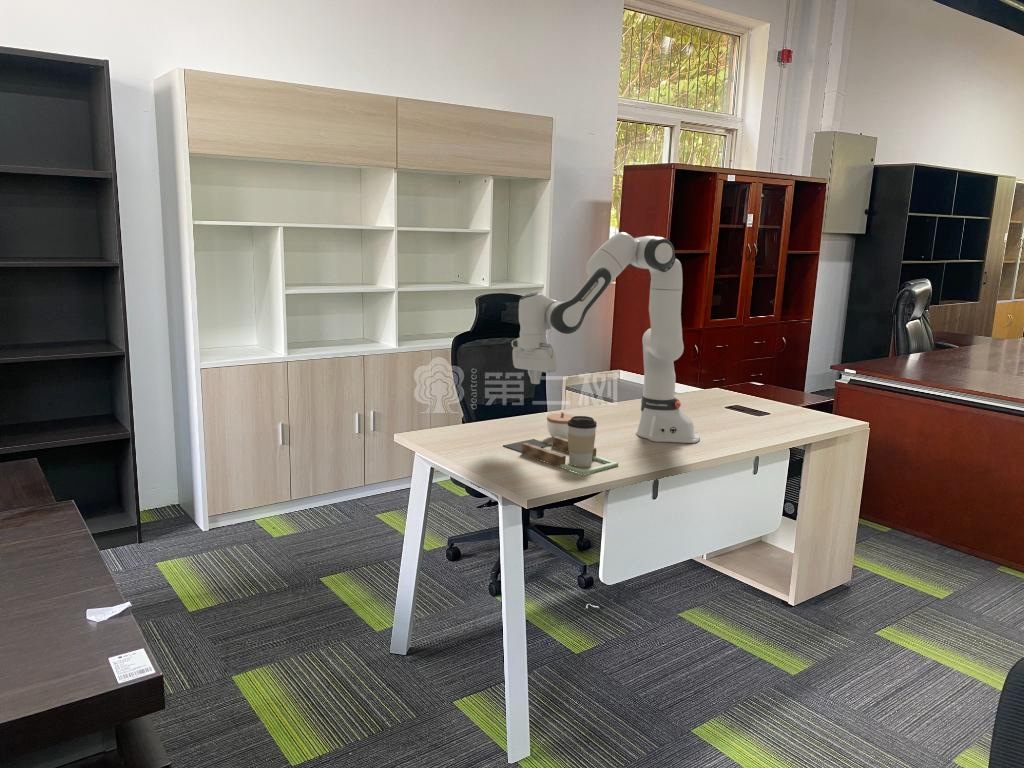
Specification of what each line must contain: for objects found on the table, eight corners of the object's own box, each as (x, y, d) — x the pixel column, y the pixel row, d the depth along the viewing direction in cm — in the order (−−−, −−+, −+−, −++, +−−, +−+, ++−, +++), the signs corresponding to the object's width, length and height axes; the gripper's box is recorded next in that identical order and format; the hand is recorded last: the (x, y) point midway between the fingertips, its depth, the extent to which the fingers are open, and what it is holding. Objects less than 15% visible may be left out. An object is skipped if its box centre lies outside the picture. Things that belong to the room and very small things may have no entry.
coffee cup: (564, 459, 239) (566, 413, 237) (592, 459, 240) (594, 414, 237) (567, 467, 231) (569, 420, 228) (596, 468, 231) (599, 420, 228)
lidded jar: (544, 434, 269) (545, 409, 267) (573, 434, 270) (574, 409, 268) (548, 442, 258) (549, 416, 256) (579, 442, 259) (580, 416, 257)
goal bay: (560, 467, 230) (560, 464, 230) (595, 458, 241) (595, 455, 241) (582, 475, 223) (583, 472, 223) (618, 465, 234) (618, 462, 234)
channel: (521, 454, 244) (521, 443, 243) (556, 446, 254) (557, 436, 253) (560, 467, 230) (561, 456, 230) (595, 458, 241) (596, 448, 240)
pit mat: (503, 446, 252) (503, 445, 252) (533, 439, 261) (533, 438, 261) (520, 452, 245) (520, 451, 245) (551, 445, 254) (551, 444, 254)
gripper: (560, 343, 241) (562, 385, 243) (523, 339, 258) (525, 379, 260) (544, 345, 237) (546, 388, 239) (508, 341, 254) (510, 381, 256)
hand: (535, 383), depth 250 cm, fingers closed
